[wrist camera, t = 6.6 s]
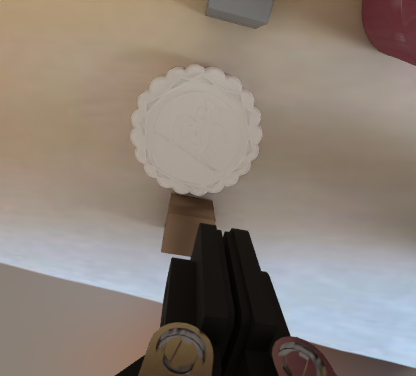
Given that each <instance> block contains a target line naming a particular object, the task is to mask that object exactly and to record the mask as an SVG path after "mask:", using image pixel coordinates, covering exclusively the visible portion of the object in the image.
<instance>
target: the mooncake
mask: <svg viewBox="0 0 416 376" xmlns="http://www.w3.org/2000/svg"><path fill="white" fill-rule="evenodd" d="M137 105H138V108H137V109H136V110H135V111H134V112H133V113H132V115H131V123H132V125H133V127H134V128H133V130H132V131H131V134H130V139H131V142H132V144H133V145H134V146H135V147H136V149H135V157H136V159H137V160H138V161H139V162H140V163H142V164H144V170H145V172H146V174H147V175H148V176H150V177H152V178H157V181H158V183H159V185H160V186H162V187H164V188H173V190H174V191H175V192H176V193H178V194H187V193H189V192H190V193H191V194H193V195H195V196H202V195H204V194H206V193H207V192H210V193H218V192H220V191H221V190H222V189H223V188H224V186H232V185H234V184H236V183H237V181H238V179H239V176H240V175H244V174H246V173H247V172H248V171H249V170H250V168H251V161H252V160H254V159H255V158H256V157H257V156H258V154H259V146H258V143H259V142H260V141H261V139H262V136H263V131H262V128H261V127H260V126H259V123H260V121H261V113H260V111H259V109H258V108H256V107H255V106H254V97H253V95H252V93H251V92H250V91H248V90H246V89H244V88H242V85H241V82H240V81H239V79H238V78H236V77H234V76H232V75H228V74H226V75H225V74H224V72H223V71H222V70H221V69H220V68H217V67H214V66H210V67H207V68H204V67H202V66H201V65H199V64H191V65H189V66H188V67H187V68H186V69H184V68H182V67H174V68H172V69H170V70H169V71H168V72H167V74H166V76H164V75H162V76H159V77H157V78H155V79H153V80H152V82H151V83H150V86H149V89H147V90H146V91H144V92H143V93H142V94H140V96H139V97H138V100H137Z"/></svg>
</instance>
